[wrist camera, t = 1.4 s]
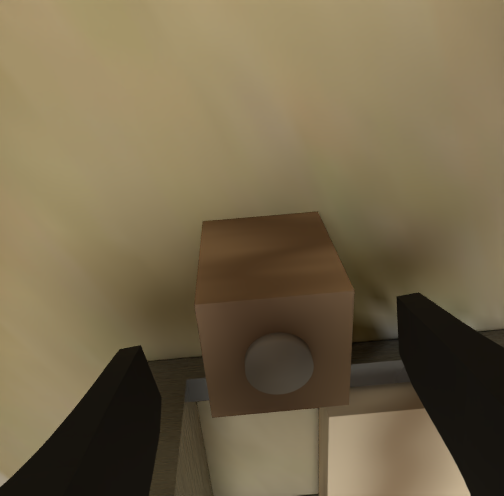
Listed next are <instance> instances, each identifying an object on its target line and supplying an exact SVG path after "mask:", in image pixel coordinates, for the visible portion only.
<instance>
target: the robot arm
mask: <svg viewBox="0 0 504 496" xmlns="http://www.w3.org/2000/svg"><path fill="white" fill-rule="evenodd" d="M397 318H398V340H399V354H400V357H401V359H402V362H403V364H404V367H405V369H406V372H407V374H408V377H409V379H410V381H411V384H412V386H413V388H414V390H415V392H416V393H417V395H418V397H419V399H420V401H421V402H422V404H423V406H424V408H425V410H426V411H427V413H428V415H429V417H430V418H431V420H432V422H433V424H434V425H435V427H436V429H437V431H438V433H439V434H440V436H441V438H442V440H443V441H444V443H445V445H446V447H447V448H448V450H449V452H450V454H451V455H452V457H453V459H454V461H455V463H456V465H457V467H458V469H459V471H460V473H461V475H462V477H463V479H464V481H465V483H466V486H467V488H468V490H469V492H470V495H471V496H504V347H502V346H500V345H499V344H497V343H495V342H493V341H492V340H490V339H488V338H487V337H485V336H483V335H482V334H480V333H479V332H477V331H475V330H474V329H472V328H471V327H469V326H468V325H466V324H464V323H463V322H461V321H460V320H458V319H457V318H455V317H454V316H453V315H451V314H450V313H448V312H447V311H445V310H444V309H442V308H441V307H439V306H438V305H436V304H435V303H434V302H432V301H431V300H429V299H428V298H426V297H425V296H423V295H422V294H420V293H419V292H418V293H413V294H408V295H402V296H397ZM161 400H162V397H161V395H160V392H159V390H158V387H157V385H156V382H155V380H154V377H153V375H152V372H151V370H150V367H149V365H148V362H147V360H146V357H145V355H144V352H143V350H142V347H141V345H140V346H135V347H129V348H124V349H120V350H119V351H118V352H117V353H116V355H115V356H114V357H113V359H112V360H111V361H110V363H109V364H108V365H107V367H106V368H105V369H104V371H103V372H102V373H101V375H100V376H99V377H98V379H97V380H96V381H95V383H94V384H93V385H92V387H91V388H90V389H89V390H88V392H87V393H86V394H85V396H84V397H83V398H82V399H81V401H80V402H79V403H78V405H77V406H76V407H75V408H74V410H73V411H72V412H71V413H70V414H69V415H68V417H67V418H66V419H65V420H64V421H63V423H62V424H61V425H60V426H59V427H58V428H57V430H56V431H55V432H54V433H53V434H52V436H51V437H50V438H49V439H48V440H47V441H46V442H45V443H44V444H43V446H42V447H41V448H40V449H39V450H38V451H37V452H36V453H35V454H34V455H33V456H32V457H31V458H30V459H29V460H28V461H27V462H26V463H25V464H24V465H23V466H22V467H21V468H20V469H19V470H18V471H17V472H16V473H15V474H14V475H13V476H12V477H11V478H10V479H9V480H8V481H7V482H6V483H4V484H3V485H2V486H1V487H0V496H149V492H150V487H151V481H152V476H153V470H154V464H155V459H156V453H157V447H158V441H159V435H160V424H161Z"/></svg>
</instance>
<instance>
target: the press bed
mask: <svg viewBox="0 0 504 496" xmlns="http://www.w3.org/2000/svg"><path fill="white" fill-rule="evenodd" d="M319 496H471V495H470V492H469V490H468V488H467V486H466V483H465V481H464V479H463V477H462V475H461V473H460V471H459V469H458V467H457V465H456V463H455V461H454V459H453V457H452V455H451V454H450V452H449V450H448V448H447V447H446V445H445V443H444V441H443V440H442V438H441V436H440V434H439V433H438V431H437V429H436V427H435V425H434V424H433V422H432V420H431V418H430V417H429V415H428V413H427V411H426V410H425V408H424V406H423V404H422V402H421V401H420V399H419V397H418V395H417V393H416V392H415V390H414V388H413V386H412V384H411V382H403V383H392V384H381V385H370V386H360V387H350V395H349V405H344V406H333V407H322V408H319Z"/></svg>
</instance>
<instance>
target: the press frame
mask: <svg viewBox="0 0 504 496" xmlns="http://www.w3.org/2000/svg"><path fill="white" fill-rule="evenodd" d="M479 333H480V334H482V335H483V336H485V337H487V338H488V339H490V340H492V341H493V342H495V343H497V344H499V345H500V346H502V347H504V330H496V331H485V332H479ZM148 365H149V367H150V370H151V372H152V375H153V377H154V380H155V382H156V385H157V387H158V390H159V392H160V395H161V397H162V400H161V424H160V435H159V441H158V447H157V453H156V459H155V464H154V470H153V476H152V481H151V487H150V492H149V496H213V492H212V487H211V481H210V476H209V470H208V464H207V459H206V453H205V447H204V442H203V436H202V430H201V425H200V419H199V413H198V408H197V402H196V401H206V400H209V394H208V388H207V382H206V375H205V369H204V363H203V357H195V358H184V359H173V360H162V361H151V362H148ZM403 382H411V381H410V379H409V377H408V374H407V372H406V369H405V367H404V364H403V362H402V359H401V357H400V354H399V340H398V339H396V340H385V341H374V342H362V343H352V353H351V374H350V387H360V386H370V385H381V384H392V383H403ZM309 496H319V495H309Z"/></svg>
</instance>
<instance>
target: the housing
mask: <svg viewBox="0 0 504 496" xmlns="http://www.w3.org/2000/svg"><path fill="white" fill-rule="evenodd" d="M194 306H195V312H196V319H197V325H198V331H199V337H200V344H201V350H202V356H203V363H204V369H205V375H206V382H207V388H208V394H209V401H210V407H211V413H212V418H214V417H225V416H236V415H246V414H257V413H268V412H279V411H290V410H300V409H311V408H322V407H333V406H344V405H349V395H350V374H351V353H352V332H353V311H354V289H353V286H352V284H351V282H350V280H349V278H348V276H347V274H346V271H345V269H344V267H343V265H342V263H341V261H340V258H339V256H338V254H337V252H336V250H335V248H334V245H333V243H332V241H331V239H330V237H329V235H328V233H327V230H326V228H325V226H324V224H323V222H322V220H321V217H320V215H319V213H318V212H307V213H295V214H283V215H271V216H260V217H248V218H236V219H225V220H213V221H203V225H202V234H201V244H200V254H199V264H198V274H197V284H196V293H195V303H194Z"/></svg>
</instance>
